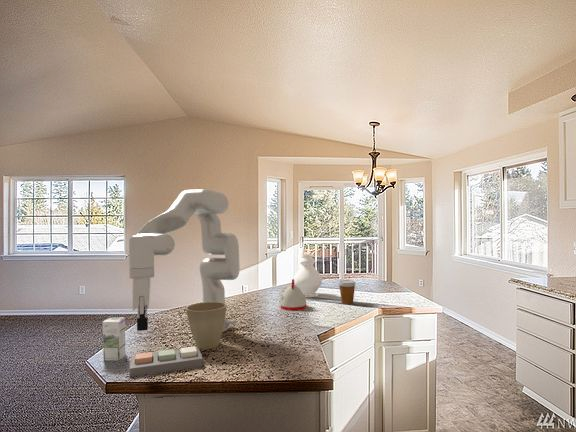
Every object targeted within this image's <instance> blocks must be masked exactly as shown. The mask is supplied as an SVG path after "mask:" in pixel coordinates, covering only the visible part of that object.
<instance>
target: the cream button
mask: <svg viewBox="0 0 576 432" xmlns="http://www.w3.org/2000/svg"><path fill="white" fill-rule="evenodd" d="M196 347H197V346H187V347H180V348H179V349H180V356H181V358H185V357H192V356H197V350H196Z"/></svg>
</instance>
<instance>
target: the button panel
mask: <svg viewBox="0 0 576 432" xmlns="http://www.w3.org/2000/svg"><path fill="white" fill-rule="evenodd" d="M195 347H196V350H197V356H192V357H185V358H181V356H180V348H178V349H174V352H175V359H170V360H163V361H159V351H157V352H152V362H148V363H141V364H135V358H136V354H134V355H131V359H130V363H129V364H130V365H129V377H130V378H131V377H132V376H133V377H138V376H139V375H140V376H146V375H151V374H152V375H153V374H159V373H160V372H161V373H165V372H174V371H181V370H188V369H192V368H201V367H203V366H204V363H203V361H204V359H203V356H202V352H201V349H199V347H197V346H195ZM140 376H139V377H140ZM133 377H132V378H133Z"/></svg>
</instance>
